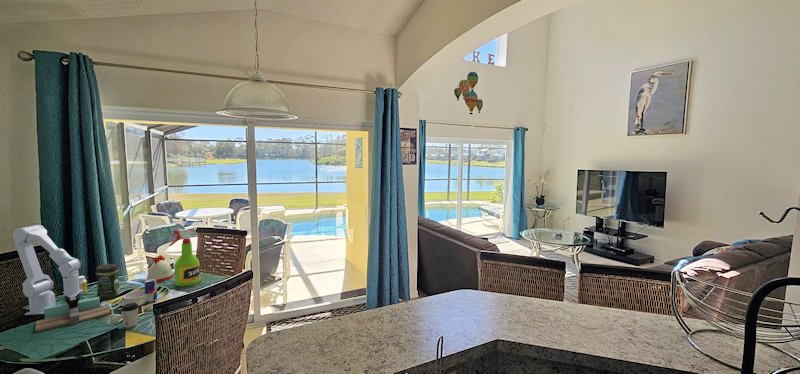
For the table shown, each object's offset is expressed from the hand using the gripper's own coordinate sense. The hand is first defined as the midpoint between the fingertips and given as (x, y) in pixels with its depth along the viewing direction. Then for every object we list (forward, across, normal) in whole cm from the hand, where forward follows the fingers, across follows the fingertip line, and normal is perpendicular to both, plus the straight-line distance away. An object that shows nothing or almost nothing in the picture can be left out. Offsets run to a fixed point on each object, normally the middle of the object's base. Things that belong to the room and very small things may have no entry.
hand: (73, 309), depth 172 cm
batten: (+2, 0, 0) cm, 2 cm away
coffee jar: (+2, +12, -15) cm, 19 cm away
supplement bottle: (+2, +28, -4) cm, 28 cm away
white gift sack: (+2, +26, -42) cm, 49 cm away
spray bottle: (+2, +5, -51) cm, 51 cm away
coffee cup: (+2, -36, -18) cm, 40 cm away
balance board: (+1, -10, 0) cm, 10 cm away
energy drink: (+2, -11, -30) cm, 33 cm away
